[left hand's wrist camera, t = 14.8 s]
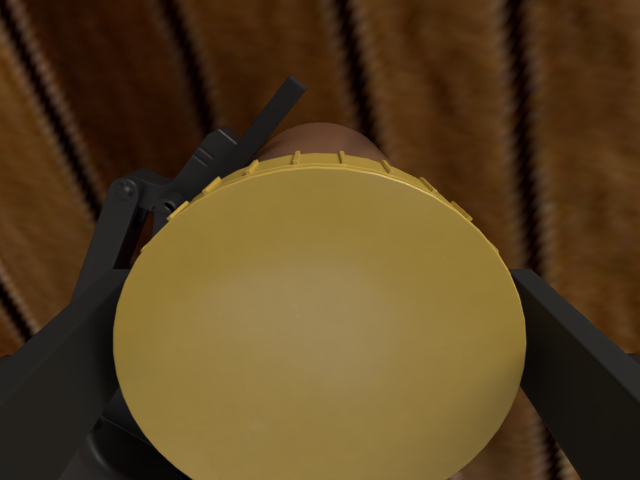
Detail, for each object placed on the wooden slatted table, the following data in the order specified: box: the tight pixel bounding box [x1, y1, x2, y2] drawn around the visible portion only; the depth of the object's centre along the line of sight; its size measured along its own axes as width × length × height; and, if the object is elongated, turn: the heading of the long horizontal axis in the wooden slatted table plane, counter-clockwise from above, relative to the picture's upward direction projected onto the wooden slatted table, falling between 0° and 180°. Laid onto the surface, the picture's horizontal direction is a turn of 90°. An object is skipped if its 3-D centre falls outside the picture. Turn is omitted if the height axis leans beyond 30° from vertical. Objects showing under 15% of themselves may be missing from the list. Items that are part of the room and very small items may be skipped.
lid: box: [113, 151, 526, 480], centre depth 11 cm, size 10×10×2 cm
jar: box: [245, 122, 395, 168], centre depth 18 cm, size 9×9×15 cm
